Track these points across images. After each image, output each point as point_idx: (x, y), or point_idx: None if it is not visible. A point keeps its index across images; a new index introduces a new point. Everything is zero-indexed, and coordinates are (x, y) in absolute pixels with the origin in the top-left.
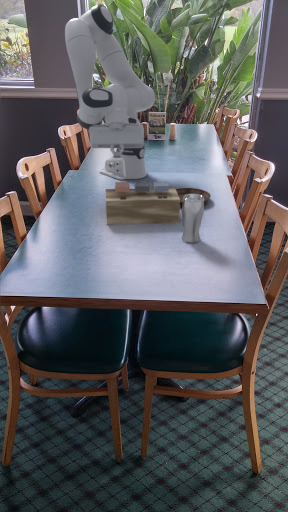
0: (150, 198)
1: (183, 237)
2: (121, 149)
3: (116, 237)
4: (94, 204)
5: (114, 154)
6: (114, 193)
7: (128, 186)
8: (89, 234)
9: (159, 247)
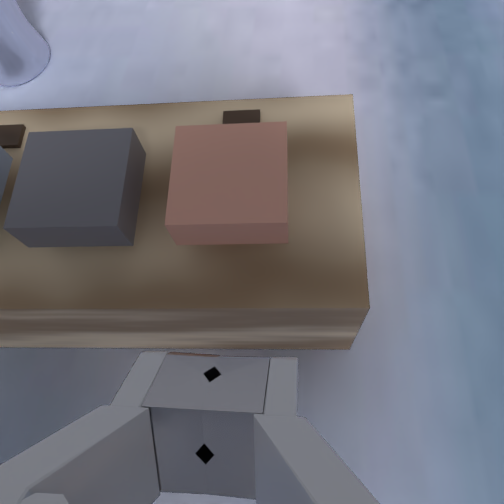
0: (71, 129)
1: (42, 40)
2: (68, 438)
3: (295, 72)
4: (440, 494)
5: (269, 367)
6: (296, 213)
7: (185, 127)
8: (412, 95)
9: (146, 11)
